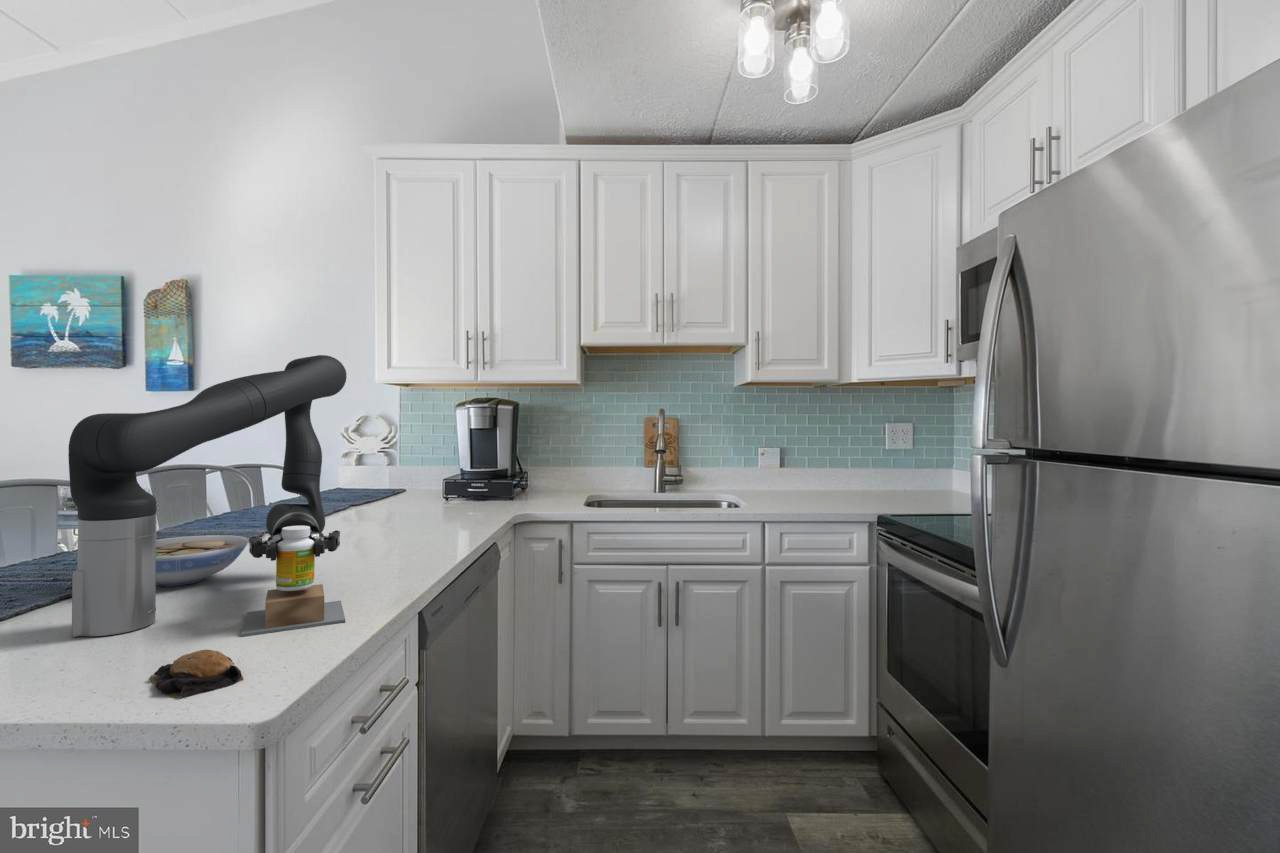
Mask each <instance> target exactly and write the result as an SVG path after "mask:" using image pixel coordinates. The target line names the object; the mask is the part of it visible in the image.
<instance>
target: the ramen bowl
mask: <svg viewBox="0 0 1280 853" xmlns="http://www.w3.org/2000/svg"><path fill="white" fill-rule="evenodd" d="M248 543H249V538H246V536H239V535H238V536H237V535H232V534H231V535H230V534H229V535H226V534H221V535H219V534H218V535H217V534H215V535H214V534H212V535H211V534H207V535H206V534H205V535H192V536H191V535H190V536H189V535H187V536H178V537H177V536H176V537H168V538H159V539H157V538H156V586H157V585H158V586H161V587H175V586H183V585H184V586H185V585H190V584H195V583H196V584H197V583H199V582H201V581H203V580H205V579H206V578H207V577H210V576H213V575H215V574H217V573H219V572H222V571H223V570H224V569H226V568H228V567H229V566H231V565H232V563H234V562H235V561H236V560H237V558H238V557H239V556H240V555H241V554H242V553H243V551H244V550H245V549H246V547H247V545H248Z"/></svg>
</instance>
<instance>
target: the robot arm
mask: <svg viewBox="0 0 1280 853" xmlns="http://www.w3.org/2000/svg"><path fill="white" fill-rule="evenodd" d="M346 382H347V370H346V368H345V366H344V365H343V363H342V362H341V361H340V360H338V359H337V358H335V357H333V356H330V355H325V354H324V355H323V354H318V355H311V356H307V357H299V358H294V359H293V360H290V361H289V362H288V363H287V364H286V366H285V368H284V370H278V371H277V370H276V371H271V372H264V373H263V372H262V373H256V374H255V373H254V374H251V375H246V376H240V377H236V378H233V379H229V380H227V381H222V382H220V383H219V382H218V383H216V384H214V385H211V386H208V387H207V388H205V389H203V390H201V391H200V392H199V393H198V394H197V395H195V397H193V398H192V399H191V400H190V401H188V402H186V403H183V404H180V405H177V406H173V407H172V406H171V407H168V408H164V409H159V410H155V411H148V412H138V413H134V412H133V413H131V412H130V413H127V412H124V413H121V412H120V413H118V412H117V413H116V412H114V413H110V412H108V413H97V414H91V415H89V416H87V417H84V418H83V419H81V420H80V421H79V422H78V423H77V424H76V425H75V426H74V428H73V429H72V431H71V434H70V437H69V443H68V455H67V456H68V472H69V475H68V476H69V490H70V496H71V499H72V501H73V503H74V505H75V507H76V510H77V569H76V570H75V571H73V572H72V575H71V576H72V577H71V578H72V579H71V580H72V581H71V582H72V583H71V586H72V588H71V590H72V591H71V637H72V638H76V637H103V636H110V635H113V636H114V635H118V634H124V633H129V632H134V631H137V630H140V629H143V628H146V627H148V626H150V625H152V624H154V623H155V622H156V615H157V614H156V610H157V606H156V600H157V599H156V594H157V593H156V592H157V589H156V587H157V584H156V540H157V499H156V497H155V495H153V494H151V493H150V492H148V491H146V490H145V489H144V488H143V487H142V486H141V485H140V484H139V482H138V479H137V473H141V472H146V471H149V470H152V469H155V468H157V467H158V466H160V465H163V464H164V463H167V462H169V461H170V460H172V459H174V458H176V457H178V456H179V455H181V454H184V453H186V452H187V451H190V450H191V449H193V448H195V447H197V446H199V445H202V444H204V443H208V442H210V441H213V440H216V439H219V438H222V437H226V436H228V435H230V434H233V433H236V432H239V431H242V430H245V429H247V428H250V427H252V426H254V425H255V426H256V425H258V424H260V423H262V422H264V421H266V420H269V419H271V418H274V417H276V416H277V415H280V414H282V413H284V424H285V450H284V459H283V467H282V477H281V488H282V490H283V491H285V492H288V493H292V494H296V495H300V496H301V497H304V498H305V499H306V501H307V503H279V504H274V505H273V507H271V508H270V509H269V512H268V513H267V516H266V520H265V522H266V523H265V526H266V530H267V533H268V535H269V537H268V538H267V539H264V540H263V537H259V536H256V535H254V536H251V537H249V538H248V539H249V541H248V543H249V545H248V546H249V549H248V550H249V552H248V553H250V555H251V556H252V557H253V558H255V559H259V558H260V559H261V558H262V557H264V556H263V555H265V559H270V562H273V561H276V558H277V545H278V543H279V542H281V541H283V539H284V538H283V537H282V528H284V527H289V526H309V527H310V536H308V538H309V539H311V540H313V541H314V543H315V558H318V557H319V558H320V557H321V555H323V554H325V552H326V550H327V551H328V552H330V553H332V552H335V551H337V549H338V548H339V547H340V544H341V531H340V530H333V531H332V532H328V535H324V533H323V531H324V529H325V526H326V517H325V511H324V507H323V502H322V498H321V487H320V486H321V473H322V463H323V451H322V447H321V443H320V441H319V439H318V437H317V434H316V432H315V430H314V427H313V424H312V421H311V410H312V404H313V401H314V400H317V399H322V398H329V397H333V396H335V395H337V394H338V393H340V391H341V390H343V389H344V386H345V385H346Z"/></svg>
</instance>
